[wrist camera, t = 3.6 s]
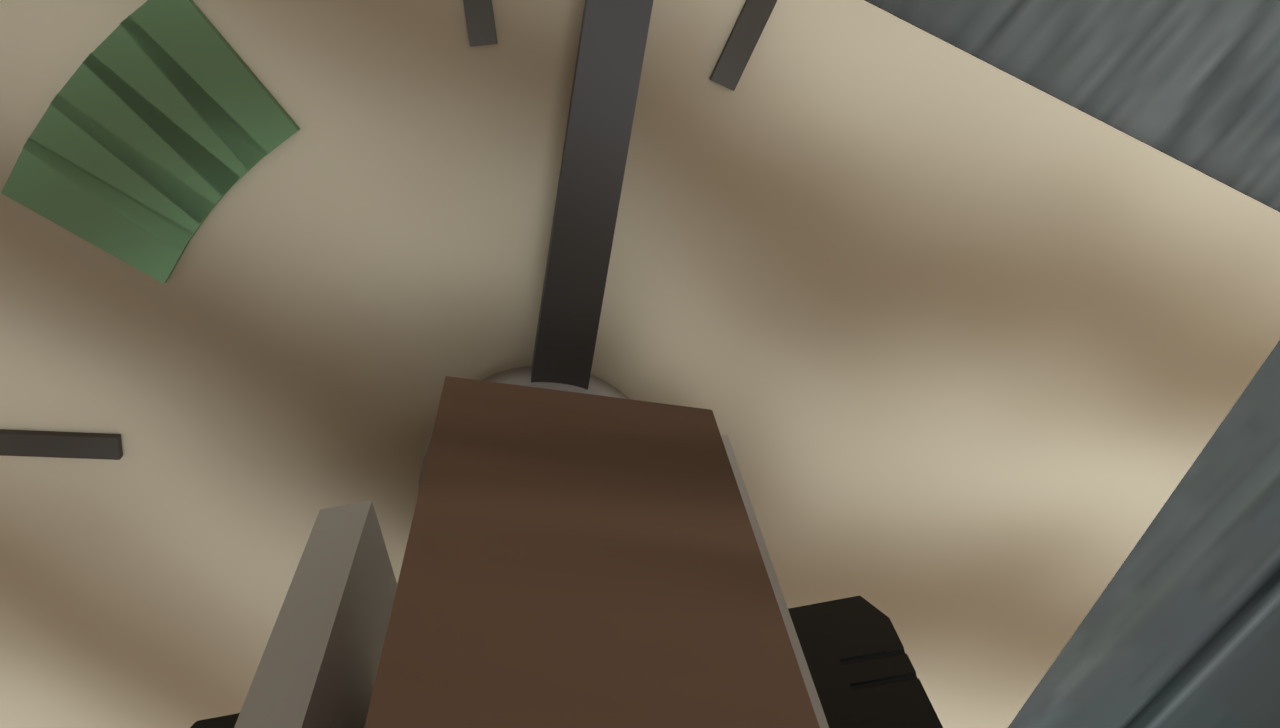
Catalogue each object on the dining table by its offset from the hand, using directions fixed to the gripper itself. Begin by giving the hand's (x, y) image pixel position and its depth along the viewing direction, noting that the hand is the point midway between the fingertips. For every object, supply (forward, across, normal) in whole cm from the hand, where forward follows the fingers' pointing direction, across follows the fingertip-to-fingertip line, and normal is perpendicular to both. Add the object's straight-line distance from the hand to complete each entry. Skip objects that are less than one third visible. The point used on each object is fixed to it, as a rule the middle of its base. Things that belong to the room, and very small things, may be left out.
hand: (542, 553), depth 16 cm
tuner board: (+5, 0, 0) cm, 5 cm away
